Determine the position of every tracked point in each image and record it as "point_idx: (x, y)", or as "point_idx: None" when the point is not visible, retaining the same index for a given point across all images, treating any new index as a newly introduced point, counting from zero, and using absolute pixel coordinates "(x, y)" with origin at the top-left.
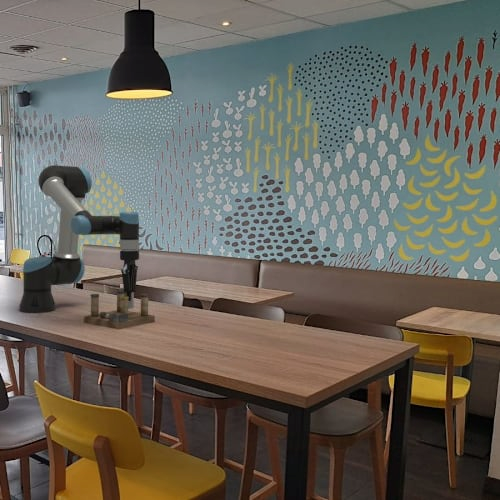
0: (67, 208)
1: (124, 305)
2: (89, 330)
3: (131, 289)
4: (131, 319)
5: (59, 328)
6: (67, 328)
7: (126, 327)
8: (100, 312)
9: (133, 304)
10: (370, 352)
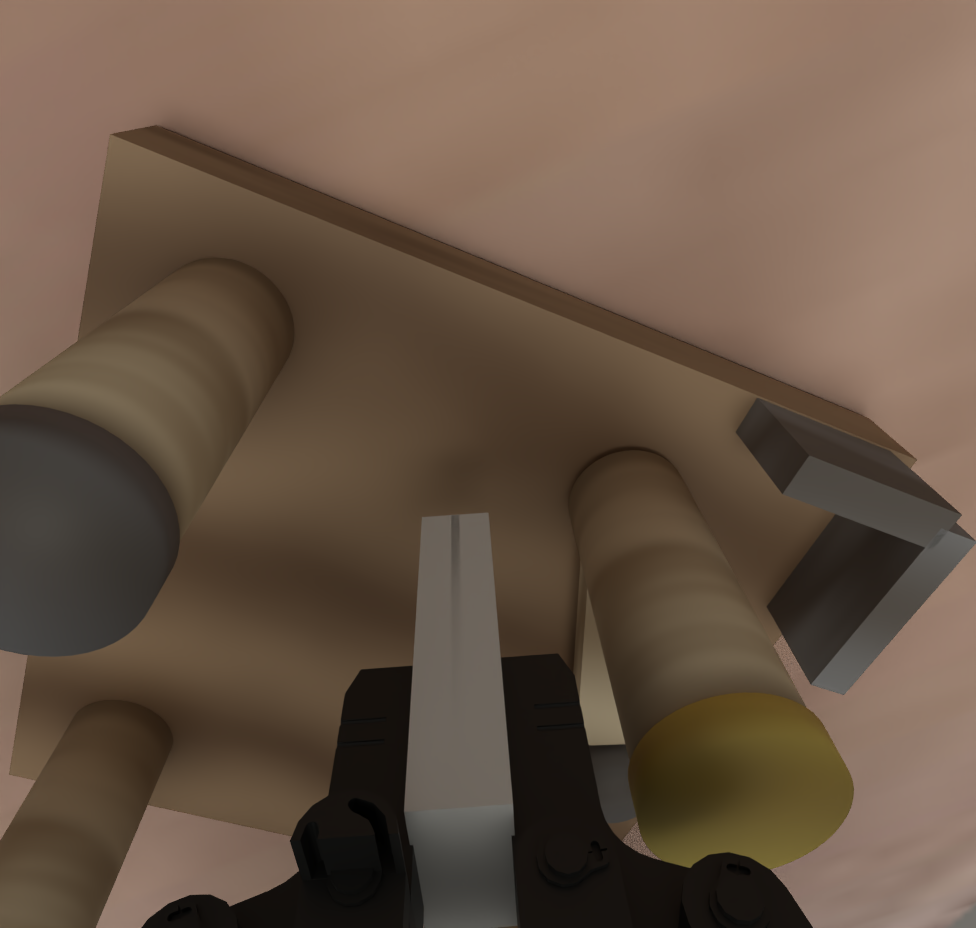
0: None
1: (761, 626)
2: (920, 664)
3: (595, 925)
4: (623, 392)
5: (851, 874)
6: (844, 834)
7: (744, 368)
8: (622, 818)
9: (435, 563)
10: None
